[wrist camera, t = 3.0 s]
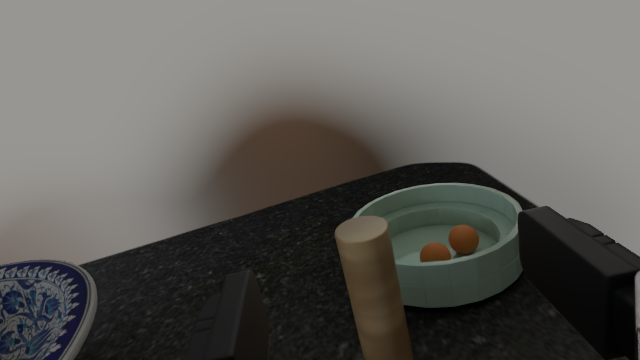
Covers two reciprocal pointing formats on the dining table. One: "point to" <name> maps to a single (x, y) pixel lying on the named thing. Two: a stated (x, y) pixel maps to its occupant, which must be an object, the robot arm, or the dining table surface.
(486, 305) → the dining table surface
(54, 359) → the ceramic bowl
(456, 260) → the pale green shallow dish
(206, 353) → the robot arm
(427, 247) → the bead
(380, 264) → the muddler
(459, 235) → the bead
